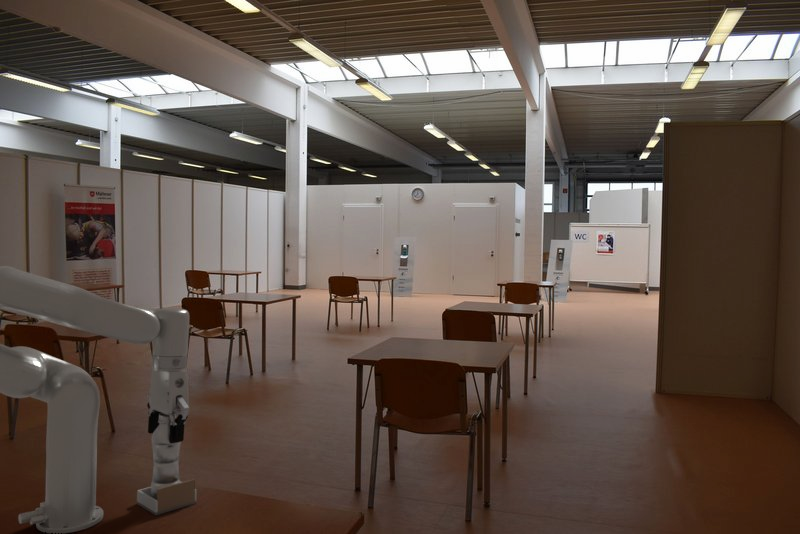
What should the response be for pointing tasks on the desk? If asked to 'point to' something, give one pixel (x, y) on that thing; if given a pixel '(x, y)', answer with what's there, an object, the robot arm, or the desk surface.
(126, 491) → the desk surface
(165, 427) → the plastic bottle
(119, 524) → the desk surface
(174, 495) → the drawer
